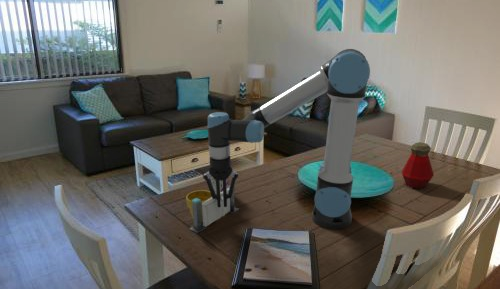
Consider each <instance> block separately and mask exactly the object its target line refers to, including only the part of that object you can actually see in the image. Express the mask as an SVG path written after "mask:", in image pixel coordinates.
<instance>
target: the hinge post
mask: <svg viewBox="0 0 500 289" xmlns="http://www.w3.org/2000/svg"><path fill="white" fill-rule="evenodd" d="M238 211H240V208H238V207H235V191H234V192H232V197H231V198H230V211H229V212H228V213H230V214H231V215H233V214H235V213H236V212H238Z"/></svg>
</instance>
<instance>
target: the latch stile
mask: <svg viewBox="0 0 500 289" xmlns="http://www.w3.org/2000/svg"><path fill="white" fill-rule="evenodd" d="M200 202H201V200H200V199H198V198H195V199H193V200H192V203H193V218H192V220H193V225H192V226H191V227H189V228H188V229H189V231H193V232H194V233H197V234H199V233H200V232H202V231H204V230H206V229H207V226H206V227H205V226H203V224H202V222H201V205H200Z"/></svg>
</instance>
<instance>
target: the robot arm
mask: <svg viewBox="0 0 500 289" xmlns="http://www.w3.org/2000/svg"><path fill="white" fill-rule="evenodd" d="M370 76H371V68H370V64H369V61H368V60H367V58H366V56H365V55H364V54H363V53H362V52H361V51H360V50H357V49H355V48H346V49H342V50H341V51H340V52H338V53H336V55H334V57H332V58H331V59H330V60H329V61H327V62H325V63H324V64H323V65H321V66H320V69H319V70H318V71H316V72H315V73H312V75H310V76H308V77H307V78H305V79H303V80H301V81H300V82H298V83H297V84H295V85H293V86H292V87H290V88H289V89H287V90H286V91H284V92H282V93H280V94H278V96H276V97H274V98H272V99H270V100H269V101H267V102H266V103H264V104H262V105H261V106H259V107H258V108H256V109H253V110H251V111H250V112H248V113H247V115H246V116H245V117H243V119H230V115H229V114H228V113H227V112H222V111H221V112H220V111H216V112H211V113H210V114H209V115H208V116H207V126H206V127H207V137H208V138H207V139H208V154H209V155H208V156H209V169H208V171H207V172H205V173H204V174H203V177H202V178H203V179H204V180H205V182H206V184H207V186H208V187H207V188H208V189H209V190H208V191H210V193H211V196H212V198H213V199H217V205H218V207H221V216H222V217H225V215H224V207H227V199H228V198H231V197H232V192H233V188H234V186H235V184H236V180H237V179H238V178H239V172H238V171H234V170H233V167H232V163H231V162H232V160H231V142H238V143H250V144H254V143H261V142H262V141H263V140H264V135H265V128H267V127H268V126H270V125H272V124H273V123H276V122H277V121H278V120H281V119H283V117H286V116H287V115H289V114H291V113H292V112H294V111H295V110H297V109H299V108H301V107H302V106H305V105H306V104H308V103H310V102H311V101H314V100H315V99H317V98H318V97H320V96H322V95H324V94H325V93H326V95H327V96H328V97H329V99H330V107H329V108H330V109H329V118H328V125H327V132H326V141H325V142H326V144H325V151H324V160H323V162H321V163H320V164H319V169H318V174H317V181H316V187H315V195H314V197H313V198H314V199H313V200H314V207H313V209H312V212H311V213H312V214H311V220H312V221H313V223H315V224H316V225H318V226H320V227H322V228H326V229H331V230H341V229H345V228H348V227H349V226H351V224H352V222H353V221H352V219H353V214H352V211H351V204H352V197H351V196H352V189H353V181H354V176H353V172H352V166H351V162H352V157H353V156H352V155H353V150H354V149H353V148H354V141H355V134H356V129H357V128H356V127H357V120H358V113H359V106H360V102H361V101H362V100H364V99H365V98H366V92H367V86H368V81H369V79H370ZM230 175H231V180H230V181H231V182H230V184H229V185H230V188H229V193H228V194H227V188H226V179H228V180H229V177H230ZM211 176H212V177H213V178H214V179H215V180H216V191H217V194H215V191H214V188H213V185H212V182H211ZM220 180H223V197H221V195H220Z"/></svg>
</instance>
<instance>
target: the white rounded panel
mask: <svg viewBox="0 0 500 289" xmlns="http://www.w3.org/2000/svg"><path fill="white" fill-rule="evenodd" d="M235 187H236V186H235V185H234V188H233V192H234V193H235ZM229 188H230V184H229V186H228V188H227V194H228V193H229ZM220 195H221V197H223V191H222V192H221V193H220ZM229 211H230V198H228V199H227V207H224V216H225V215H226V214H228V213H229ZM202 215H203V222H202V226H204V227H206V228H207V227H208V226H210V225H211V224H212V223H214V222H215V221H217V220H219V219H220V218H221V217H223V216H221V207H218V205H217V199H213V198H210V199H208V200H207V201H205V202H203V203H202Z"/></svg>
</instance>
